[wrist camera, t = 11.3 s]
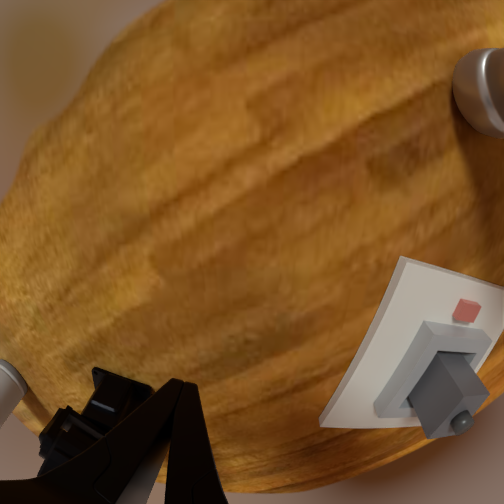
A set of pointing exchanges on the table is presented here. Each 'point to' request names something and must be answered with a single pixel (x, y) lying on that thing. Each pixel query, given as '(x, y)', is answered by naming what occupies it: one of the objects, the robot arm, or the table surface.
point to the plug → (447, 395)
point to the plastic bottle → (481, 90)
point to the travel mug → (10, 389)
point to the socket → (414, 342)
